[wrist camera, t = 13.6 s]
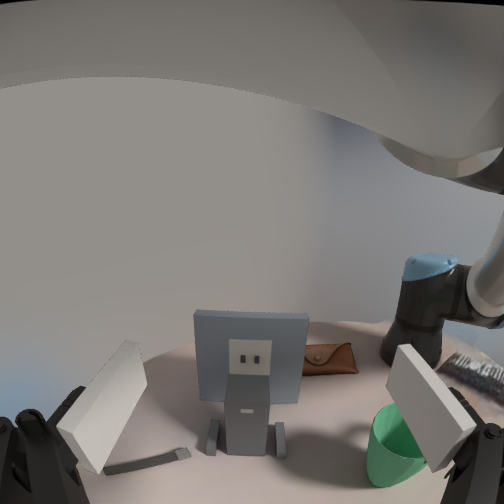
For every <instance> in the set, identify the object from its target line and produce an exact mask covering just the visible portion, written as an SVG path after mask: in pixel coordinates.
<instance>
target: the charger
mask: <svg viewBox="0 0 504 504" xmlns="http://www.w3.org/2000/svg"><path fill="white" fill-rule="evenodd" d="M224 408H225V428H226V445H227V455H238V456H265V451H266V441H267V431H268V421H269V410H270V386H269V376H248V375H228V380H227V386H226V392H225V398H224Z"/></svg>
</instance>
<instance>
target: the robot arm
mask: <svg viewBox="0 0 504 504" xmlns="http://www.w3.org/2000/svg"><path fill="white" fill-rule="evenodd" d="M81 77H147V78H163V79H173V80H183V81H191V82H198V83H205V84H212V85H218V86H224V87H230V88H235V89H240V90H245V91H249V92H254V93H258V94H262V95H267V96H271V97H275V98H279V99H282V100H286V101H290V102H293V103H297V104H300V105H303V106H307V107H310V108H313V109H316V110H319V111H322V112H325V113H328V114H331V115H334V116H337V117H340V118H342V119H345V120H347V121H350V122H353V123H355V124H358V125H361V126H363V127H366V128H368V129H370V130H371V131H372V132H373V134H374V135H375V137H376V138H377V139H378V141H379V142H380V143H381V144H382V145H383V146H384V147H385V149H386V150H387V151H389V152H390V153H391V154H392V155H393V156H394V157H395V158H397V159H398V160H400V161H401V162H403V163H404V164H406V165H407V166H409V167H411V168H413V169H415V170H417V171H419V172H422V173H425V174H428V175H432V176H436V177H443V178H446V179H449V180H451V181H454V182H457V183H460V184H463V185H466V186H469V187H473V188H477V189H480V190H484V191H488V192H494V193H498V194H501V195H504V0H0V89H2V88H7V87H12V86H17V85H22V84H28V83H34V82H40V81H48V80H57V79H68V78H81ZM457 262H458V261H457V258H456V257H455V256H453V255H446V254H437V253H428V254H417V255H414V256H411V257H409V258H408V259H407V261H406V263H405V268H404V273H403V276H402V286H401V292H400V297H399V302H398V307H397V312H396V316H395V320H394V322H393V324H392V326H391V328H390V329H389V331H388V333H387V335H386V337H385V338H384V339H383V341H382V345H381V348H380V354H381V357H382V358H383V360H384V361H385V362H386V363H388V364H389V365H391V366H392V368H391V371H390V374H389V377H388V380H387V383H386V388H387V390H388V391H389V393H390V395H391V397H392V398H393V400H394V402H395V404H396V405H397V407H398V409H399V411H400V413H401V414H402V416H403V418H404V420H405V422H406V423H407V425H408V427H409V429H410V431H411V433H412V435H413V436H414V438H415V440H416V442H417V444H418V446H419V448H420V450H421V452H422V454H423V456H424V457H425V459H426V461H427V463H428V465H429V467H430V469H431V471H432V473H434V472H436V471H439V470H441V469H443V468H446V467H447V466H448V464H449V463H450V462H451V461H452V459H453V460H454V462H455V464H454V466H453V467H452V468H451V469H450V470H449V471H448V473H447V474H446V475H445V477H444V478H445V479H446V478H447V477H448V476H449V474H450V477H449V480H448V483H447V486H446V489H445V492H444V495H443V498H442V500H441V503H440V504H504V428H503V429H501V427H500V426H498V425H497V424H494V423H487V424H485V423H484V421H483V420H482V419H481V418H480V416H479V415H478V414H477V413H476V411H475V410H474V409H473V408H472V406H471V405H469V403H468V402H467V400H465V398H464V397H463V395H462V394H461V393H460V392H459V391H457V390H456V389H454V388H452V387H450V388H447V387H446V385H445V384H444V383H443V382H442V380H441V379H440V378H439V377H438V376H437V374H436V373H435V372H434V371H433V370H432V369H434V368H435V367H436V366H437V365H438V363H439V360H440V357H441V354H442V349H441V348H442V328H443V324H444V321H445V320H450V321H456V322H461V323H466V324H471V325H476V326H481V327H486V328H488V329H501V328H503V327H504V212H503V214H502V218H501V220H500V222H499V225H498V227H497V230H496V232H495V235H494V237H493V239H492V242H491V244H490V246H489V249H488V251H487V253H486V255H485V257H483V258H481V259H479V260H478V261H476V262H475V264H474V265H473V266H466V265H460V264H457ZM146 386H147V380H146V376H145V372H144V367H143V363H142V358H141V353H140V349H139V343H137V342H130V341H125V342H124V343H123V344H122V345H121V346H120V348H119V349H118V350H117V351H116V352H115V353H114V355H113V356H112V357H111V358H110V359H109V361H108V362H107V363H106V364H105V365H104V367H103V368H102V369H101V370H100V372H99V373H98V374H97V375H96V376H95V378H94V379H93V380H92V381H91V382H90V384H89V385H88V387H83V386H80V387H78V388H76V389H75V390H73V391H72V392H71V393H70V394H69V395H68V397H67V398H66V399H65V400H64V401H63V402H62V405H60V406H59V407H58V409H57V410H56V411H55V412H54V413H53V415H52V416H51V417H50V418H49V420H48V421H47V422H46V421H45V419H44V418H43V416H42V414H41V413H40V412H39V411H37V410H35V409H26V410H23V411H22V412H20V413H19V414H18V415H17V417H16V419H15V423H16V424H17V426H18V428H17V427H14V426H13V424H12V422H11V421H10V420H9V419H8V418H6V417H0V504H90V503H89V500H88V498H87V495H86V493H85V490H84V487H83V484H82V481H81V478H80V475H79V472H78V470H77V468H76V464H77V463H78V461H79V463H80V464H81V465H82V467H83V468H84V469H86V470H88V471H91V472H93V473H96V474H100V472H101V470H102V468H103V466H104V464H105V463H106V461H107V459H108V457H109V455H110V453H111V451H112V449H113V447H114V445H115V443H116V441H117V440H118V438H119V436H120V434H121V432H122V430H123V428H124V426H125V425H126V423H127V421H128V419H129V417H130V415H131V413H132V412H133V410H134V408H135V406H136V404H137V402H138V401H139V399H140V397H141V395H142V393H143V391H144V390H145V388H146Z"/></svg>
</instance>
